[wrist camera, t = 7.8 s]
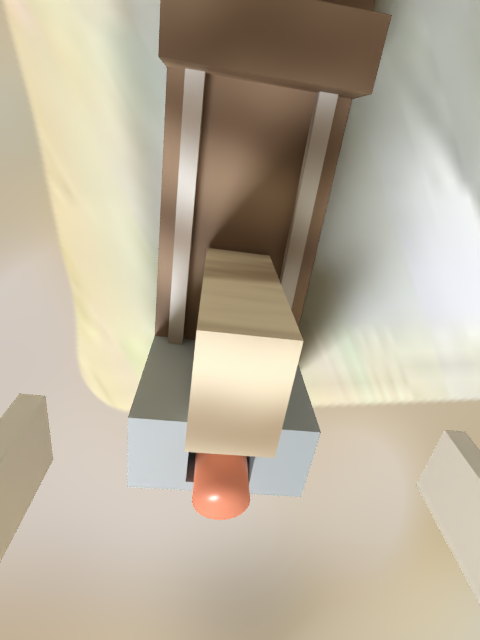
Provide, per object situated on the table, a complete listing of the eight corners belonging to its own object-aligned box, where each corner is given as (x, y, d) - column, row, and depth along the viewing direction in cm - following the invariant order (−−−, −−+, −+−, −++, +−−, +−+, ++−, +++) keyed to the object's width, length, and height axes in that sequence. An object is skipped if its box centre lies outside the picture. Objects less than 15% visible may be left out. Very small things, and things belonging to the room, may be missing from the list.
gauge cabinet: (155, 325, 28) (123, 417, 19) (289, 339, 29) (320, 432, 20) (152, 381, 30) (123, 486, 21) (278, 392, 31) (300, 497, 22)
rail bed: (176, -47, 19) (164, -97, 15) (368, -9, 20) (406, -45, 16) (155, 381, 30) (145, 419, 26) (278, 392, 31) (286, 430, 27)
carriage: (206, 247, 23) (196, 330, 14) (269, 255, 24) (303, 341, 14) (198, 331, 26) (184, 451, 16) (254, 337, 26) (274, 457, 17)
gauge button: (199, 419, 21) (194, 478, 17) (248, 423, 21) (254, 482, 18) (194, 456, 22) (189, 518, 19) (241, 459, 22) (245, 521, 19)
